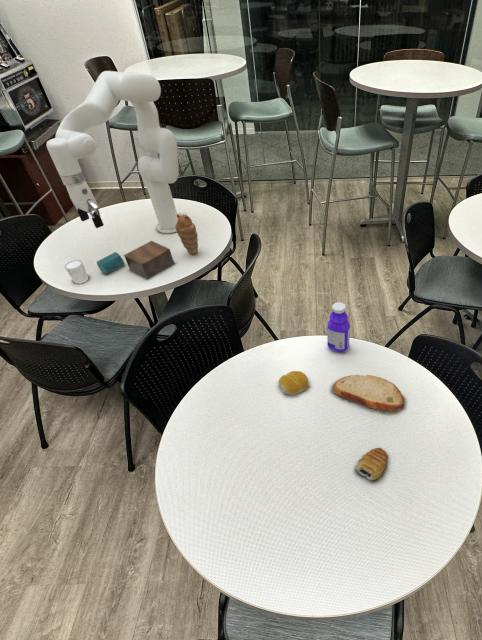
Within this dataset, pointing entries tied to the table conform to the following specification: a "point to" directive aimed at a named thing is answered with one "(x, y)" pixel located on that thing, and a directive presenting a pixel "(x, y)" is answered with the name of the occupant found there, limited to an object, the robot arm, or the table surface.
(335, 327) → the bottle
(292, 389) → the bread roll
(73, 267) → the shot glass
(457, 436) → the table surface
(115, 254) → the drinking cup
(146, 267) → the stand
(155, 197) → the robot arm
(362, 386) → the bread slice
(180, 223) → the brown ridged oblong lump
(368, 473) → the pastry
